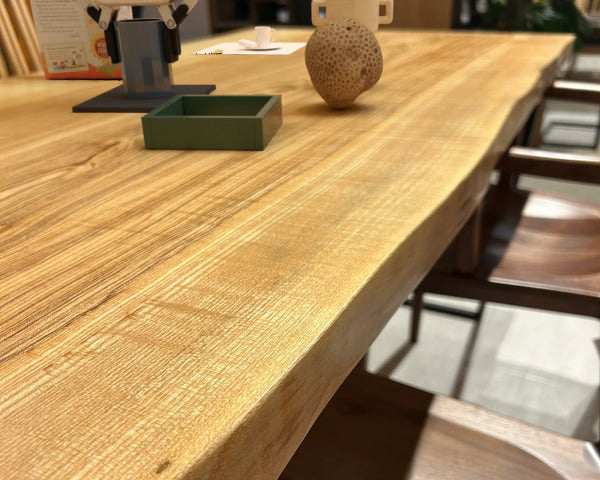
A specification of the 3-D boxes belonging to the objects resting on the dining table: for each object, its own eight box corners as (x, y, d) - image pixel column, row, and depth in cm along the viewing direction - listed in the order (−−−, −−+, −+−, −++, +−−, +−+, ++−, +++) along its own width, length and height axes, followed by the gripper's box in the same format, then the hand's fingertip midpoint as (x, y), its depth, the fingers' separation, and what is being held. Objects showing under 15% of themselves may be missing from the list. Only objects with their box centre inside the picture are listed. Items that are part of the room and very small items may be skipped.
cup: (117, 99, 82) (105, 22, 77) (135, 90, 87) (125, 18, 83) (165, 99, 81) (156, 22, 77) (180, 90, 86) (172, 17, 82)
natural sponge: (351, 97, 82) (352, 12, 77) (397, 108, 75) (402, 16, 71) (292, 107, 78) (289, 17, 73) (335, 119, 71) (336, 21, 66)
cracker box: (142, 74, 104) (122, -75, 94) (126, 80, 99) (103, -77, 89) (63, 73, 107) (36, -71, 97) (44, 79, 101) (13, -73, 92)
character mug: (386, 80, 93) (389, -19, 87) (394, 89, 87) (398, -18, 81) (311, 83, 93) (310, -17, 87) (314, 91, 86) (312, -16, 80)
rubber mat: (72, 112, 78) (71, 107, 78) (121, 88, 92) (121, 84, 92) (183, 112, 76) (183, 107, 76) (216, 88, 90) (215, 84, 90)
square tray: (145, 149, 61) (140, 117, 60) (180, 122, 72) (177, 94, 70) (263, 150, 60) (262, 117, 59) (282, 122, 70) (281, 94, 69)
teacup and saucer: (234, 51, 128) (233, 29, 126) (246, 46, 135) (245, 25, 133) (277, 51, 126) (276, 29, 125) (286, 46, 133) (286, 25, 131)
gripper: (205, -103, 76) (218, 57, 84) (67, -97, 78) (93, 58, 86) (187, -108, 69) (203, 65, 78) (37, -102, 71) (68, 67, 80)
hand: (145, 60), depth 82 cm, fingers open, 6 cm apart
